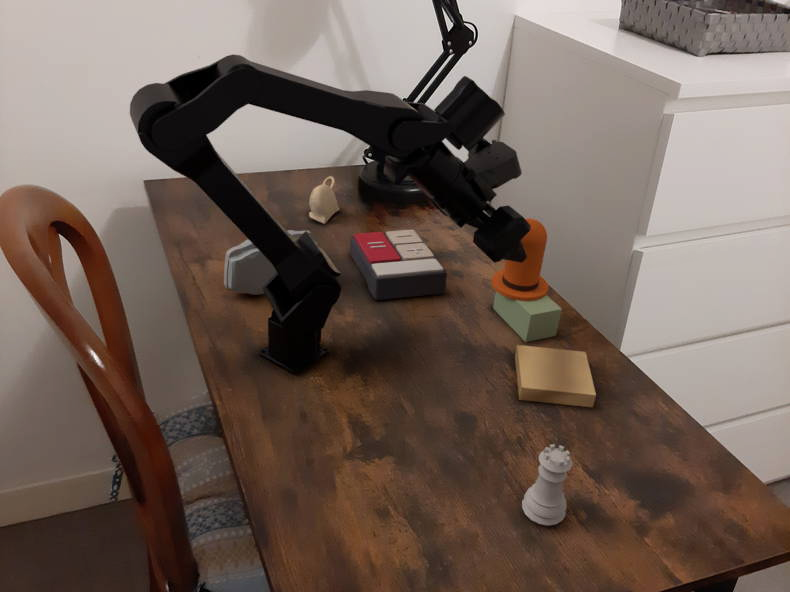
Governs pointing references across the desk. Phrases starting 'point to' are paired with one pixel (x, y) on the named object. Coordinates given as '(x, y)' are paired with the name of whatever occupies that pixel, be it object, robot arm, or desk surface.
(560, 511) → the rook chess piece
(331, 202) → the decorative ornament
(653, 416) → the desk surface
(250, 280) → the handheld gaming console
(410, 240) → the calculator
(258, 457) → the desk surface
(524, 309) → the sage box
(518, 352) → the stand
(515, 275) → the hat
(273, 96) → the robot arm
